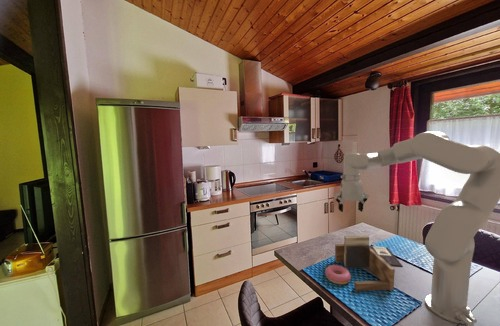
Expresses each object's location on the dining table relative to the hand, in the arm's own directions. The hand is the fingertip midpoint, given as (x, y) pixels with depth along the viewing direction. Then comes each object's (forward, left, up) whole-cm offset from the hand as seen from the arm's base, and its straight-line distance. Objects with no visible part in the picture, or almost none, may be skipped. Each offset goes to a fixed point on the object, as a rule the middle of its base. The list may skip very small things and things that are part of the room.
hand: (350, 210), depth 108 cm
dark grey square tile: (-7, -1, -26) cm, 27 cm away
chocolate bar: (+2, -20, -27) cm, 34 cm away
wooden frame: (-12, 0, -26) cm, 29 cm away
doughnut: (-14, +12, -27) cm, 33 cm away
